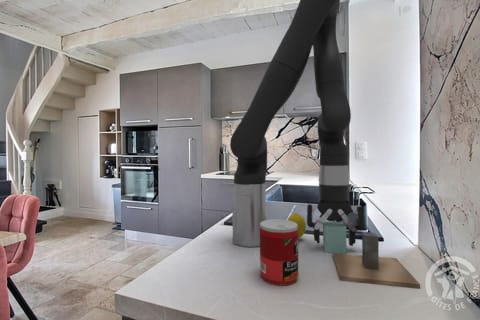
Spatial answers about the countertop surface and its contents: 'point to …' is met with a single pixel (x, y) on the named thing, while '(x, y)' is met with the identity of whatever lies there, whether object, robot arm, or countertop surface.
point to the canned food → (279, 251)
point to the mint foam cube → (334, 237)
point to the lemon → (298, 223)
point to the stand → (373, 266)
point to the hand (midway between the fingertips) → (334, 243)
